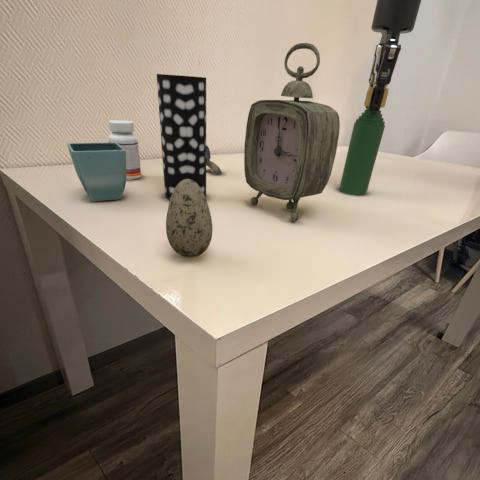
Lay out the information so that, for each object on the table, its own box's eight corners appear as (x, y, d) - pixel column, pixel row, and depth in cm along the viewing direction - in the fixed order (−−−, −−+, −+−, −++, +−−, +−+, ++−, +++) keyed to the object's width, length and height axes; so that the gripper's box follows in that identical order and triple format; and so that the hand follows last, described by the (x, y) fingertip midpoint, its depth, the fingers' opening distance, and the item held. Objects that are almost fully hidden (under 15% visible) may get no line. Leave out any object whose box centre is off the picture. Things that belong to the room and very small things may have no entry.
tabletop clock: (241, 204, 66) (250, 41, 51) (273, 198, 71) (290, 47, 56) (295, 227, 57) (325, 37, 43) (327, 218, 62) (364, 46, 48)
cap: (387, 108, 68) (392, 88, 66) (367, 106, 67) (372, 87, 66) (380, 106, 71) (385, 88, 69) (361, 105, 71) (365, 86, 69)
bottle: (349, 185, 83) (372, 90, 71) (371, 192, 79) (400, 93, 67) (333, 189, 80) (355, 90, 68) (356, 196, 76) (383, 93, 64)
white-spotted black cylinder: (214, 196, 69) (215, 78, 58) (189, 205, 63) (185, 75, 52) (182, 189, 72) (178, 75, 61) (156, 197, 66) (145, 73, 55)
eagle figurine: (179, 166, 85) (207, 165, 80) (185, 139, 85) (213, 136, 80) (198, 180, 92) (224, 179, 87) (203, 154, 91) (230, 152, 87)
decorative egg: (191, 244, 49) (189, 171, 43) (221, 257, 46) (223, 180, 40) (158, 255, 45) (151, 177, 39) (188, 270, 42) (185, 188, 36)
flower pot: (77, 193, 66) (66, 142, 60) (123, 190, 69) (116, 141, 64) (83, 206, 59) (71, 151, 54) (133, 202, 63) (126, 149, 58)
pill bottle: (115, 174, 80) (106, 119, 73) (141, 174, 81) (135, 120, 75) (113, 180, 75) (104, 122, 68) (141, 180, 76) (135, 123, 70)
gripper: (433, -12, 53) (397, 113, 63) (411, 5, 65) (384, 109, 75) (385, -14, 54) (357, 110, 64) (372, 3, 65) (350, 106, 76)
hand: (372, 109), depth 69 cm, fingers closed on cap, 4 cm apart
